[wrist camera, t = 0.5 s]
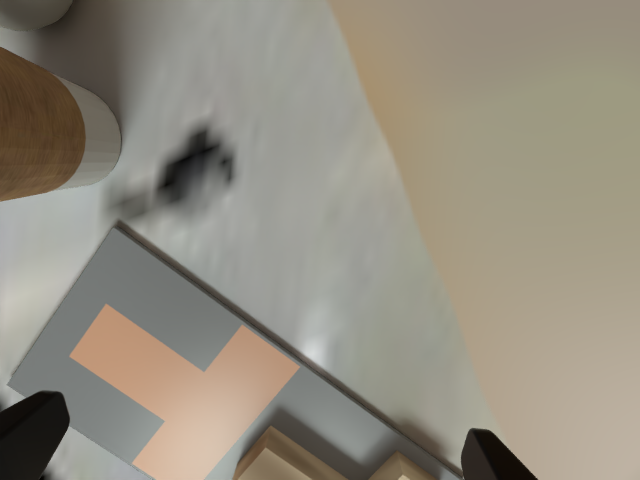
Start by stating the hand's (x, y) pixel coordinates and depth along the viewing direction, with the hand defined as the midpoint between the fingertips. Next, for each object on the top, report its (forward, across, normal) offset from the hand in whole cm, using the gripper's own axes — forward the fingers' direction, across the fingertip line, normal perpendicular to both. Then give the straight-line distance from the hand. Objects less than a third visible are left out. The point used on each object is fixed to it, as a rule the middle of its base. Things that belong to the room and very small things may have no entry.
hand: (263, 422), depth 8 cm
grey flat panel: (+12, +4, +16) cm, 20 cm away
